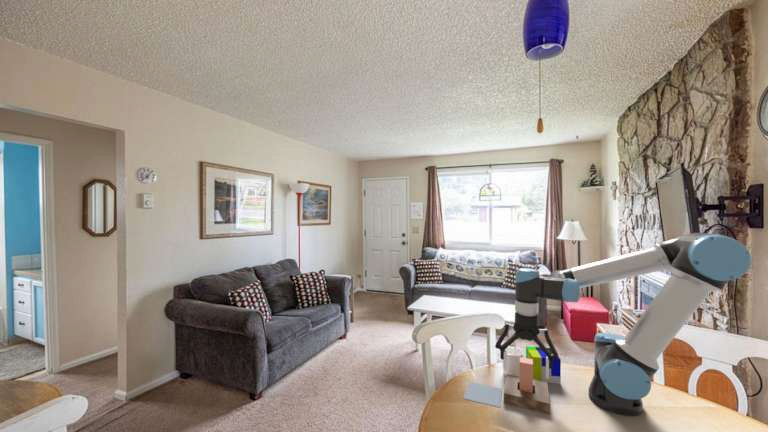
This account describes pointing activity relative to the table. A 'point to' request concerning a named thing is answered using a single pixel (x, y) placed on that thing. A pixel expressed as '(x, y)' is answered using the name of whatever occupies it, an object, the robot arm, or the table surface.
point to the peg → (526, 375)
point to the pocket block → (527, 395)
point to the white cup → (512, 361)
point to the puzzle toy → (543, 365)
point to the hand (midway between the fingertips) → (525, 372)
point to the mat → (483, 394)
